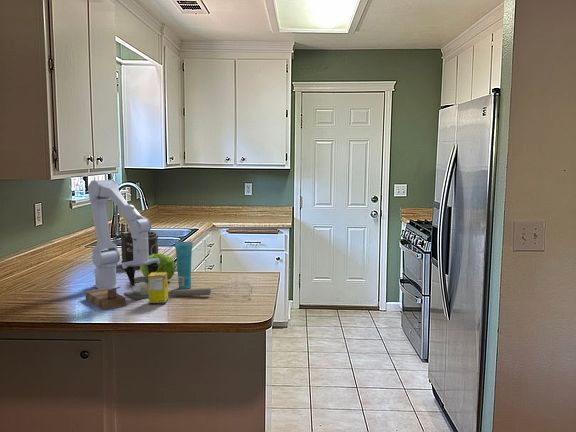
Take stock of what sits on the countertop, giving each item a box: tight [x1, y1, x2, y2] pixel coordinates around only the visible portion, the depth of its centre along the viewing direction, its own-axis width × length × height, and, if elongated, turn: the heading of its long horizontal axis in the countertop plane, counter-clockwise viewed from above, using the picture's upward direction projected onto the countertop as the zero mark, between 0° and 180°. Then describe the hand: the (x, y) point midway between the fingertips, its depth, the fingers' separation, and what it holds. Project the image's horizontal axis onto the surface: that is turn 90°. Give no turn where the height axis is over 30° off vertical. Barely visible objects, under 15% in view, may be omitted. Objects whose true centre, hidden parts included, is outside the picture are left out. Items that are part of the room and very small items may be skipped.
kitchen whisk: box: [168, 281, 253, 299], centre depth 201 cm, size 6×33×6 cm, turn 87°
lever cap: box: [132, 281, 149, 296], centre depth 203 cm, size 7×4×4 cm, turn 40°
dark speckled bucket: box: [120, 231, 159, 269], centre depth 259 cm, size 18×18×16 cm
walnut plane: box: [84, 288, 127, 311], centre depth 193 cm, size 18×8×6 cm, turn 40°
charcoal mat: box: [123, 290, 149, 301], centre depth 203 cm, size 11×10×1 cm
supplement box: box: [147, 272, 169, 306], centre depth 192 cm, size 6×6×11 cm
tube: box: [174, 240, 194, 290], centre depth 213 cm, size 7×5×19 cm, turn 89°
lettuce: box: [139, 253, 176, 281], centre depth 228 cm, size 13×22×14 cm
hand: (141, 284), depth 203 cm, fingers open, 7 cm apart
